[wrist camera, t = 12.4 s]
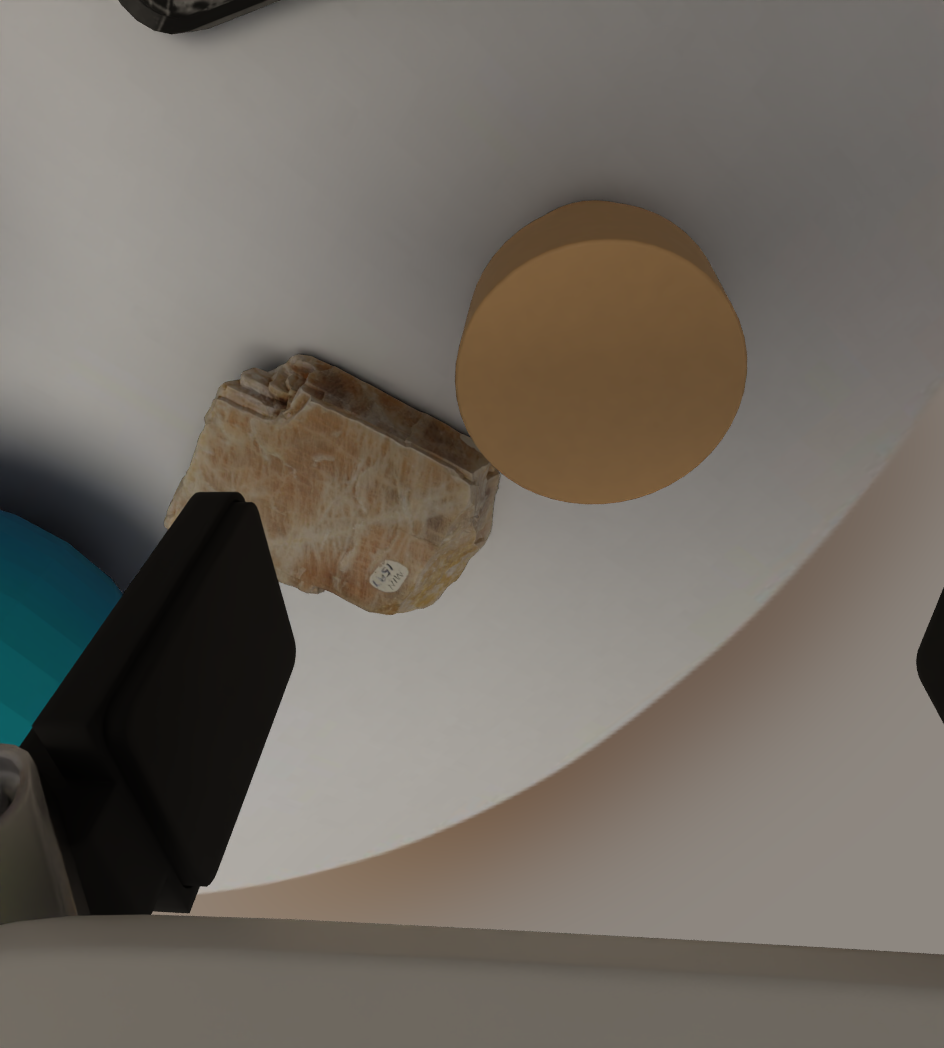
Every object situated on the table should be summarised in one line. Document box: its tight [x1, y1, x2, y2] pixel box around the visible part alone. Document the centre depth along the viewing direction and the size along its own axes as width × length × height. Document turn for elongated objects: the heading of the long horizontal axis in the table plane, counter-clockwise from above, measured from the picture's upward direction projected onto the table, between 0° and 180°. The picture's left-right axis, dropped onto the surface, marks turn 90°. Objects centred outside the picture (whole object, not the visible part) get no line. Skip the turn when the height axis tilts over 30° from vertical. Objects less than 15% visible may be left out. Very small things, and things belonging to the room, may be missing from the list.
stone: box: [164, 354, 500, 615], centre depth 22 cm, size 9×6×2 cm
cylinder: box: [455, 200, 747, 504], centre depth 17 cm, size 6×6×6 cm
